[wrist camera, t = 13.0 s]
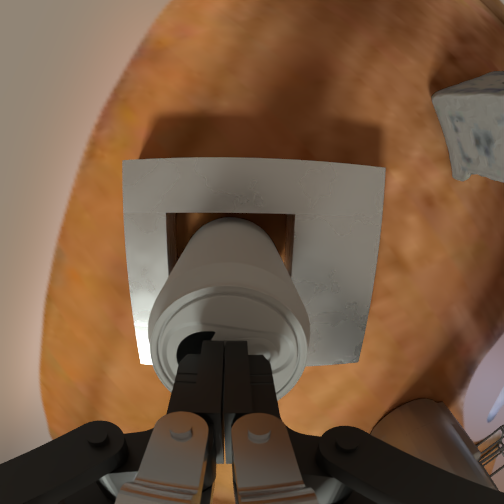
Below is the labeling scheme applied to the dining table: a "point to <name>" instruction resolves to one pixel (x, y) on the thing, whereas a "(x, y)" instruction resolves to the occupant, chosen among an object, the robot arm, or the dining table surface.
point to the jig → (297, 234)
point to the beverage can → (230, 303)
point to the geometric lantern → (492, 454)
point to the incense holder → (474, 125)
